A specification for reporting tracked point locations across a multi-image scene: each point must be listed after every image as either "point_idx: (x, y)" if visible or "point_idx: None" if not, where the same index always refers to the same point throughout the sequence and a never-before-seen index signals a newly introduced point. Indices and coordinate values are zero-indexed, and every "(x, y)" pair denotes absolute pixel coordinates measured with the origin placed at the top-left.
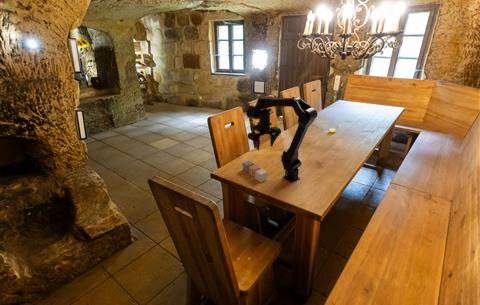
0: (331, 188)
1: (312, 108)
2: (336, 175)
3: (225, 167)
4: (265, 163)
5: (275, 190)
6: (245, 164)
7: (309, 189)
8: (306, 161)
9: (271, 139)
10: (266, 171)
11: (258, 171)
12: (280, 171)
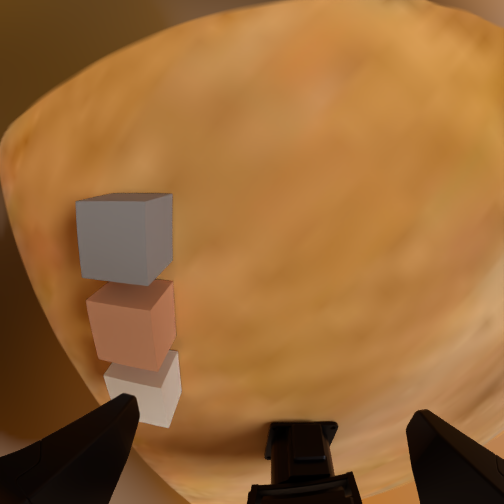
0: None
1: None
2: None
3: (55, 96)
4: (338, 224)
5: (164, 446)
6: (79, 251)
7: None
8: (492, 356)
9: (462, 500)
10: (167, 422)
11: (120, 391)
12: (320, 377)
